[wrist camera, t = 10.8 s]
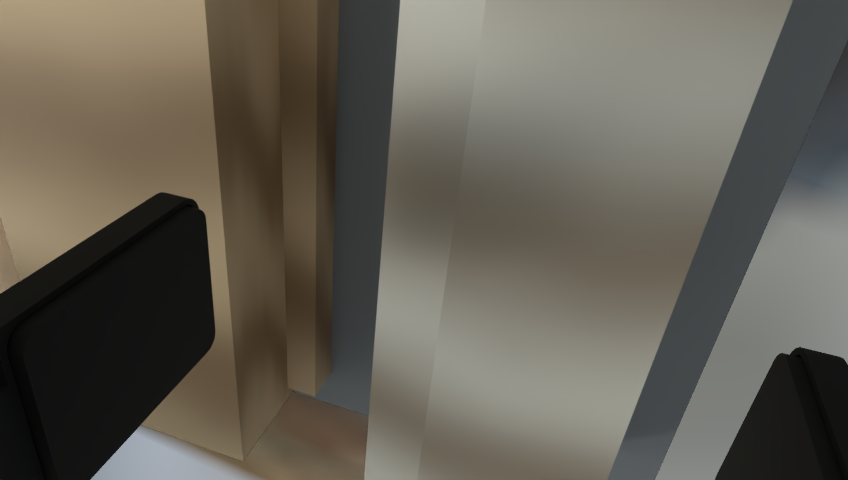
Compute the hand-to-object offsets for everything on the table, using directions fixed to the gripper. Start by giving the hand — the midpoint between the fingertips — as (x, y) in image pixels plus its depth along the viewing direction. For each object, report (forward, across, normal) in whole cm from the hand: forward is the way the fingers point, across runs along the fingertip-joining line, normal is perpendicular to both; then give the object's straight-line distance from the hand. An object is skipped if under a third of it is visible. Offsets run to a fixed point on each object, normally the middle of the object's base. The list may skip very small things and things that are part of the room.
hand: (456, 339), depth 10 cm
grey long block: (+7, -1, -1) cm, 7 cm away
